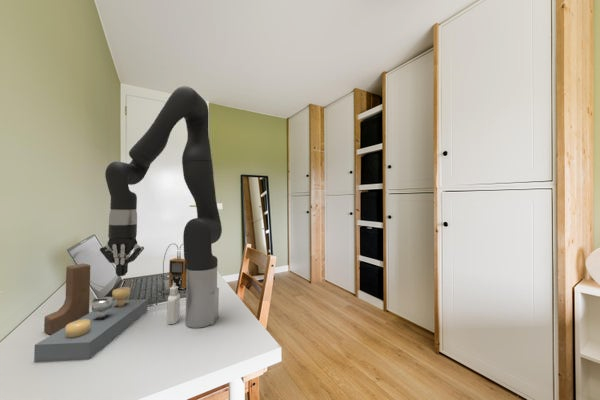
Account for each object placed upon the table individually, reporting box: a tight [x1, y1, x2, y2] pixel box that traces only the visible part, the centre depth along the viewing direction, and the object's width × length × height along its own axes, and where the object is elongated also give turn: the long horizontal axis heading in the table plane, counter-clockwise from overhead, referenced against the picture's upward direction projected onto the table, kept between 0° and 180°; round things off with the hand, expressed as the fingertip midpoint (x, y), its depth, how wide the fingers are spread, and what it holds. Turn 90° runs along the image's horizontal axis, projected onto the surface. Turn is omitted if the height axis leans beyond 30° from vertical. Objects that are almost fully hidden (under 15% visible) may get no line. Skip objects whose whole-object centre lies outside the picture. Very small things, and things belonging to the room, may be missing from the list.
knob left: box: [66, 319, 90, 338], centre depth 61 cm, size 5×5×6 cm
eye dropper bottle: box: [166, 283, 181, 325], centre depth 76 cm, size 4×6×12 cm
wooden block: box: [43, 263, 91, 336], centre depth 72 cm, size 9×4×18 cm, turn 153°
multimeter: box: [162, 243, 187, 288], centre depth 101 cm, size 15×10×20 cm
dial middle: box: [91, 296, 114, 320], centre depth 70 cm, size 5×5×6 cm
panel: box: [33, 298, 149, 363], centre depth 69 cm, size 12×26×4 cm, turn 6°
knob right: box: [111, 286, 131, 307], centre depth 78 cm, size 5×5×6 cm
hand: (121, 275), depth 78 cm, fingers closed
